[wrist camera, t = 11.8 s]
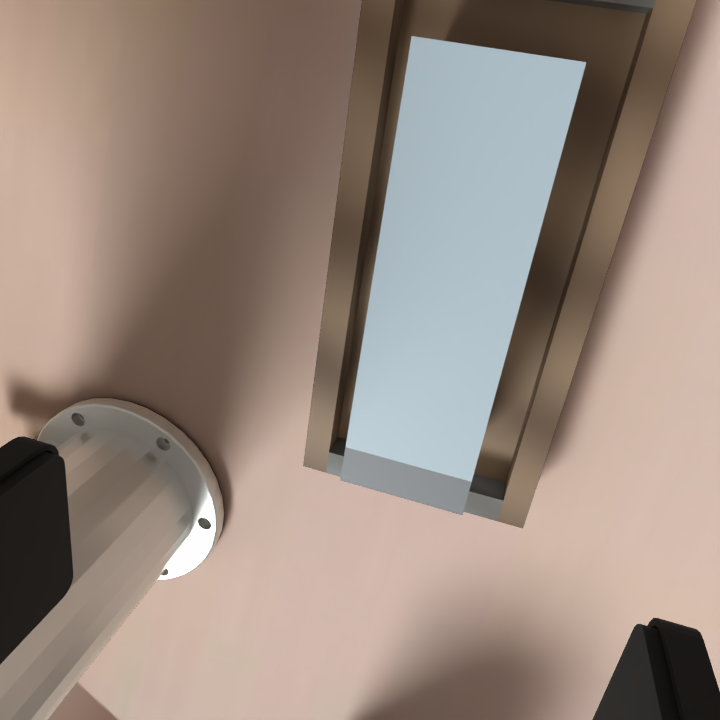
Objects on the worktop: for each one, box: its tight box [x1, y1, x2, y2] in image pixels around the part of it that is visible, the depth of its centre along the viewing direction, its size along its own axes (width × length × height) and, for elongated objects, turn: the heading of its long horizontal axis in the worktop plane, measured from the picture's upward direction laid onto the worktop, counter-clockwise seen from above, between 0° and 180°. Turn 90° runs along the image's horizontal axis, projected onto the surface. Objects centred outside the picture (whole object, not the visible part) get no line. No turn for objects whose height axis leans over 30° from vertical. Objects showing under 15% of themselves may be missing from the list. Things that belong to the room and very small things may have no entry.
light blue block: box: [340, 36, 586, 515], centre depth 24 cm, size 16×5×6 cm, turn 172°
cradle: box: [303, 0, 697, 528], centre depth 26 cm, size 22×11×3 cm, turn 172°
